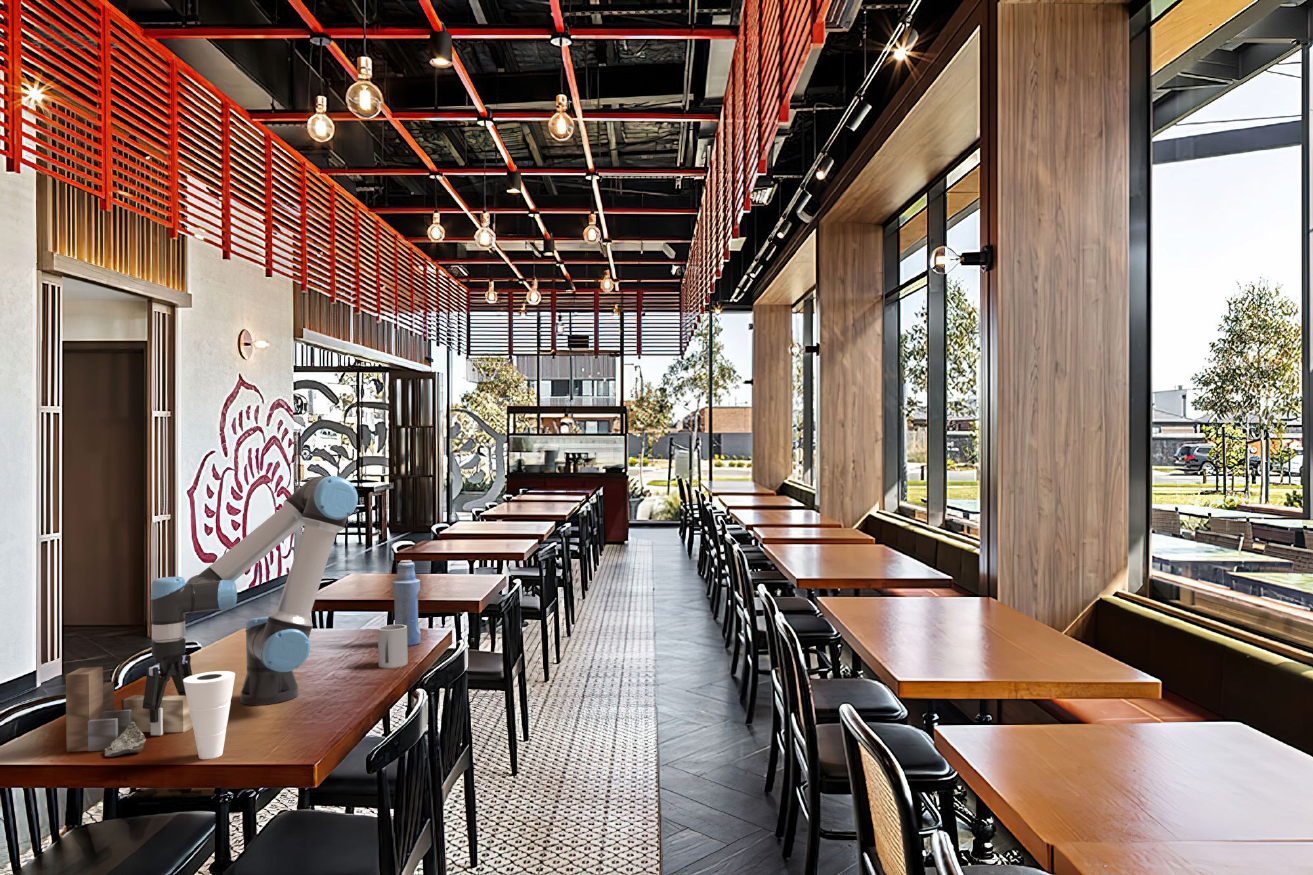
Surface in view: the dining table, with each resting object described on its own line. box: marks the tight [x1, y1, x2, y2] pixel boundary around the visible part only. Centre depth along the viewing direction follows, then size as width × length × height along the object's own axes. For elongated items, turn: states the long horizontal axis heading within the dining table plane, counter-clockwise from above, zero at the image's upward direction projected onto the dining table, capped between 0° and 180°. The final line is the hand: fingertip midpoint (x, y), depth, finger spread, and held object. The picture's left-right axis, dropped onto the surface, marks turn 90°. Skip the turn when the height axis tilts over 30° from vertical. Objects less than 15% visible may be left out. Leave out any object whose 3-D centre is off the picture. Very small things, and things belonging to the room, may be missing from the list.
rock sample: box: [104, 722, 147, 758], centre depth 204 cm, size 10×8×9 cm
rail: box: [121, 694, 193, 733], centre depth 221 cm, size 17×4×8 cm, turn 84°
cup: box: [377, 624, 409, 669], centre depth 284 cm, size 9×9×12 cm
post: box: [65, 666, 131, 753], centre depth 213 cm, size 11×17×18 cm, turn 9°
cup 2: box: [183, 670, 236, 760], centre depth 200 cm, size 11×11×18 cm
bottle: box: [391, 559, 422, 647], centre depth 314 cm, size 10×10×30 cm
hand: (169, 728), depth 220 cm, fingers open, 9 cm apart
